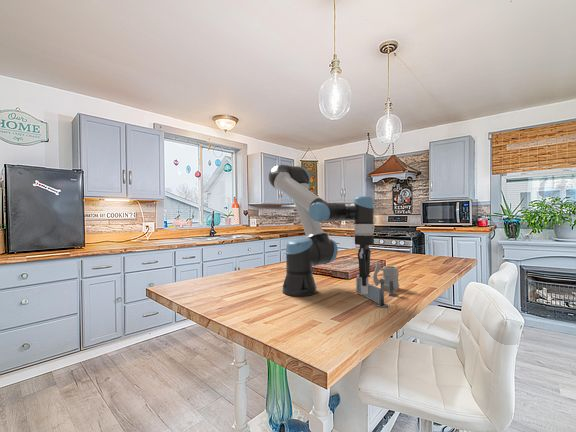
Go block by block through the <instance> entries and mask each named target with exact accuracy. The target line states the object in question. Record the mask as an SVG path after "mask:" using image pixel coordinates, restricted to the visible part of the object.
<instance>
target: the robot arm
mask: <svg viewBox="0 0 576 432" xmlns="http://www.w3.org/2000/svg"><path fill="white" fill-rule="evenodd" d="M268 181H269V183H270V185H271V187H273V188H274V189H275V190H277V191H279V192H280V191H281V192H283V193H284V194H286V196H288V197H289V198H291V200H293V202H294V204H295V205H294V206H295V208H296V210H297V213H298V217H299V220H300V224H301V226H302V228H303V230H304V234H305V237H301V238H295V239H290V240H289V241H287V243H286V248H285V253H286V256H285V257H286V269H285V270H286V275H285V277H284V278H285V279H284V281H283V284H282V293H283V294H285V295H286V296H287V295H288V296H292V297H306V296H307V297H308V296H312V295H314V294H316V293H317V284H316V281H315V278H314V275H313V267H314V266H321V265H327V264H330V263H333V262H334V261H335V259H336V258H337V256H338V253H339V252H338V245H337V242H336V241H335V240H333V239H332V238H330V237H329V236H328V233H327V232H325V231H324V230H323V228H322V226H321V222H343V221H354V234H355V235H354V244H355V245H357V246H358V245H359V249H358V252H357V258H358V259H357V260H358V261H357V262H358V273H359V274H358V275H359V277H361V294H369V284H370V283H369V278H371V275H370V273H371V272H370V270H371V268H370V267H371V254H372V252H371V249H370V246H372V245H374V244H375V236H374V233H375V232H374V230H375V229H376V226H374V224H375V223H374V213H375V212H374V209H375V207H374V198H373V197H372V196H356V197H354V199H353V201H352V202H344V203H343V202H342V203H341V202H327V201H326V200H324V199H322V198H321V197H320V196H319V195H317V194H315V193H314V192H312V191H311V190H309V188H310V184H311V175H310V172H309V171H308V170H307V169H306V168H305V167H302V166H298V165H297V166H294V165H288V164H277V165H275V166H273V167H272V168H271V169H270V171H269V173H268ZM361 294H360V295H361Z"/></svg>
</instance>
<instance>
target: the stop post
mask: <svg viewBox="0 0 576 432" xmlns="http://www.w3.org/2000/svg"><path fill="white" fill-rule="evenodd" d="M394 292H395V290H394V281H392V280H390V290H389V294H388V297H391V298H392V297H393V298H397V297H398V294H399V293H394Z"/></svg>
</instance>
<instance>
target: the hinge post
mask: <svg viewBox="0 0 576 432" xmlns="http://www.w3.org/2000/svg"><path fill="white" fill-rule="evenodd" d="M379 280H380V289H381V304H379V303H377V304H376V306H377V307H378V308H381V309H382V308H384V309H386V308H388V307H389V305H388V304H386V303H385V289H384V283H385V280H384V279H383V278H381V279H379Z"/></svg>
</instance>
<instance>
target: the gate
mask: <svg viewBox="0 0 576 432" xmlns="http://www.w3.org/2000/svg"><path fill="white" fill-rule="evenodd" d="M355 280H356V283H355V284H356V285H355V286H356V293H357V294H358V295H359V294H360V295H362V296H363V297H366V298H368V299H369V300H372V301H374V302H375V303H377V304H381V287H378V286H376V285H373V284H370V283H369V294H361V277H359V274H357V275H356V279H355Z"/></svg>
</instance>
